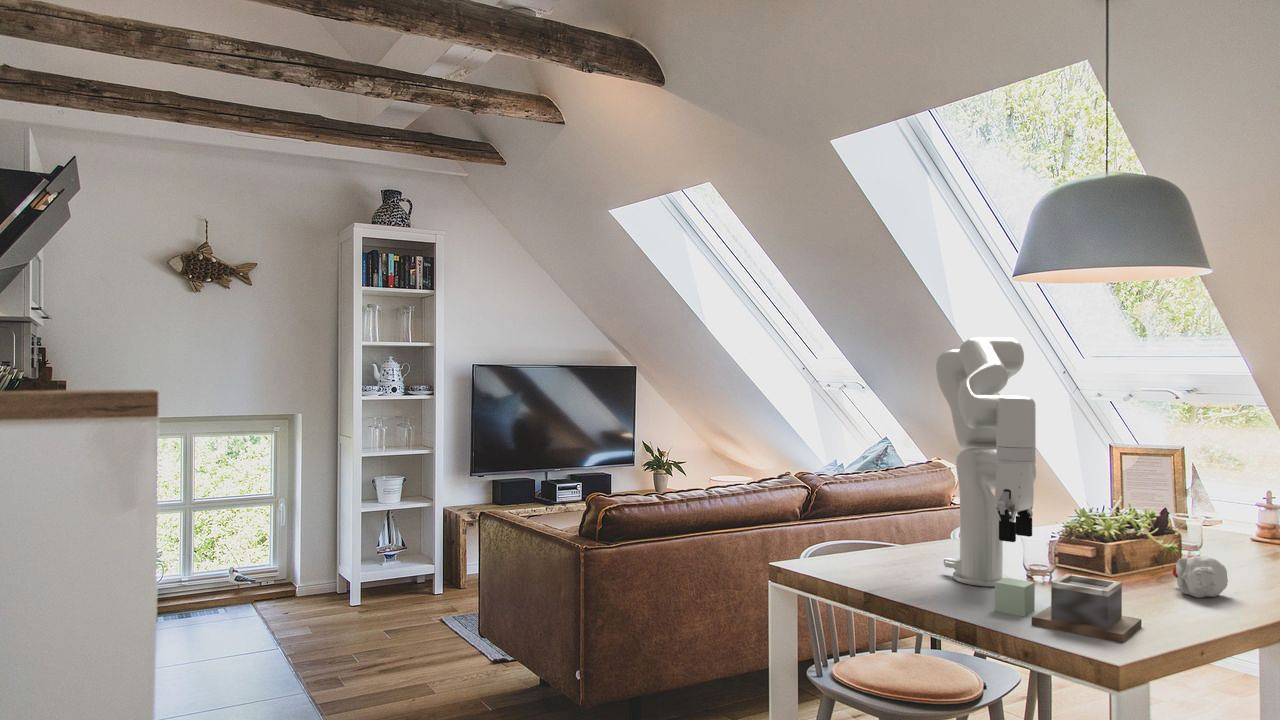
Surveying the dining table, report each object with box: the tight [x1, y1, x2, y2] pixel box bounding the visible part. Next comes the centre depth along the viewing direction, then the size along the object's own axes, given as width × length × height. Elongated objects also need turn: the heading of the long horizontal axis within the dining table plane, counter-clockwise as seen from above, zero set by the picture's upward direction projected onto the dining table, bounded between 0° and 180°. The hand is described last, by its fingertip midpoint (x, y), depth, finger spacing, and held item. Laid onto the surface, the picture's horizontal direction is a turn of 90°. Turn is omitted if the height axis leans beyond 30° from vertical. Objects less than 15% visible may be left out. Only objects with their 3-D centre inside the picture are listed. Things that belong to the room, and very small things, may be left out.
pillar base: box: [1031, 573, 1142, 644], centre depth 168 cm, size 16×14×8 cm
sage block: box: [994, 577, 1036, 618], centre depth 178 cm, size 6×6×6 cm
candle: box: [1172, 555, 1229, 599], centre depth 195 cm, size 9×11×15 cm
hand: (1015, 538), depth 178 cm, fingers open, 9 cm apart
